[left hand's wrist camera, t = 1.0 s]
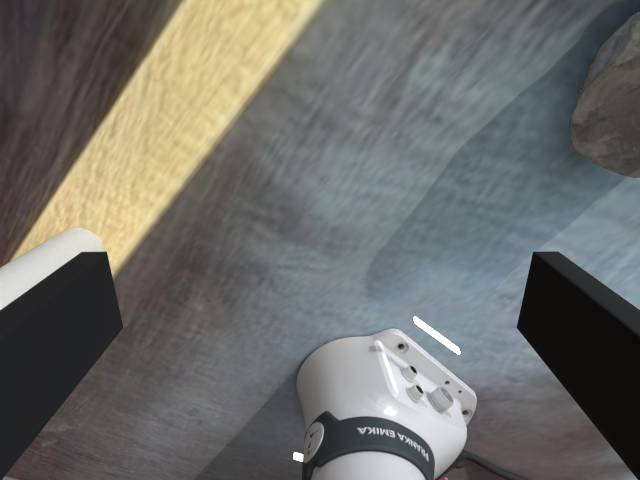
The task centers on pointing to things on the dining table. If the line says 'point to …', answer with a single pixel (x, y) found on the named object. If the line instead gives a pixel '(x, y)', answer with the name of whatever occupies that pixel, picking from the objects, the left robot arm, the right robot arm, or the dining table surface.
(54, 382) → the left robot arm
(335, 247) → the dining table surface
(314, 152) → the dining table surface
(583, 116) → the decorative stone
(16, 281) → the jar
